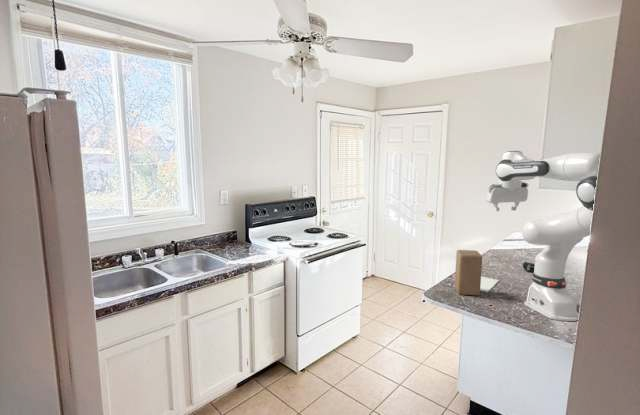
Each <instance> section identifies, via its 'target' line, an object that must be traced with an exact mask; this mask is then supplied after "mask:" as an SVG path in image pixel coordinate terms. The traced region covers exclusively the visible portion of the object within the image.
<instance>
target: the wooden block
mask: <svg viewBox="0 0 640 415" xmlns="http://www.w3.org/2000/svg"><path fill="white" fill-rule="evenodd" d="M482 267H483V256H482V254H481V253H480V252H479V251H478V250H470V249H469V250H468V249H457V250H456V256H455V276H454V288H455V290H456V291H457V294H459V295H463V296H464V295H467V296H480V293H481V291H480V285H481V276H482Z"/></svg>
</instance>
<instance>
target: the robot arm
mask: <svg viewBox="0 0 640 415" xmlns="http://www.w3.org/2000/svg"><path fill="white" fill-rule="evenodd" d="M600 154H601V153H600V152H591V151H586V152H585V151H579V152H571V153H570V152H569V153H565V154H560V155H555V156H551V157H548V158H542V159H540V160H539V159H538V160H534V159H530V158H529V157H527V156H526V155H524V154H523V152H522V151H520V150H510V151H506V152H504V153H503V155H502V158H501V160H500V161H499V162H498V164H497V165H496V167H495V174H496V177H498V183H497V184H495V183H494V184H491V185H490V186H489V187H488V191H487V196H486V202H488V203H490V204H492V205H493V207H494V212H499V211H500V207H498V205H499V203H501V204H502V203H514V204H513V205H512V206H511V211H517V208H518V206H519V204H520V202H521V203H523V202H526V201H527V200H528V196H529V189H528V187H529V183H528V182H525V181H530V180H533V179H535V178H545V179H550V180H558V181H565V182H566V181H567V182H578V183H577V185H576V186H575V188H576V190H575V191H576V192H575V193H576V197H577V198H578V201H580V204H582V207H579V208H577V209H574V210H571V211H568V212H565V213H561V214H556V215H552V216H547V217H545V218H540V219H536V220H532V221H528V222H526V223H525V224H524V225H523V226H522V231H521V232H522V237H523V239H524V240H525V242H527V243H528V244H531V245H537V246H545V247H544V248H543V249H542V250H541V252H539V253H538V254H536V256H535V259H534V263H535V267H534V272H532V275H531V276H532V277H531V280H532V282H531V284H530V286H529V287H528V292H527V297H526V300H525V301H524V302H523V305H524V306H526V307H528V308H529V309H531V310H534V311H535V312H537V313H539V314H541V315H543V316H544V317H546V318H548V319H550V320H554V321H559V322H562V321H563V322H577V320H578V314H580V313H579V312H578V311H577V309H578V305H577V300H576V298H574V297H573V296H572V295H571V293H570V291H569V290H568V289H567V286H568V283H569V282H566V278H565V270H566V264H567V259H568V257H569V255H570V253H571V252H572V250H573V249H574V248H575V246H576V245H577V244H579V243H581V242H582V241H583V240H584V238H586V237H590V236H591V235H590V225H591V218H592V211H593V204H594V195H595V187H596V180H597V173H598V165H599V158H600ZM589 235H590V236H589Z"/></svg>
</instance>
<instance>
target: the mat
mask: <svg viewBox="0 0 640 415" xmlns="http://www.w3.org/2000/svg"><path fill="white" fill-rule="evenodd" d="M499 281H500V280H499V279H496V278H491V277H487V276H486V277H485V276H482V275H481V285H480V292H482V293H483V292H484V293H489V291H491V290H492V289H493V287H495V286H496V284H497V283H498V282H499Z"/></svg>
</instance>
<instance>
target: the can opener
mask: <svg viewBox="0 0 640 415" xmlns="http://www.w3.org/2000/svg"><path fill="white" fill-rule="evenodd" d="M522 267H523V270H525V271H526V272H528V273H533V272H534V267H535V262H534V263H531V262H526V261H524V262H523V264H522Z"/></svg>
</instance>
